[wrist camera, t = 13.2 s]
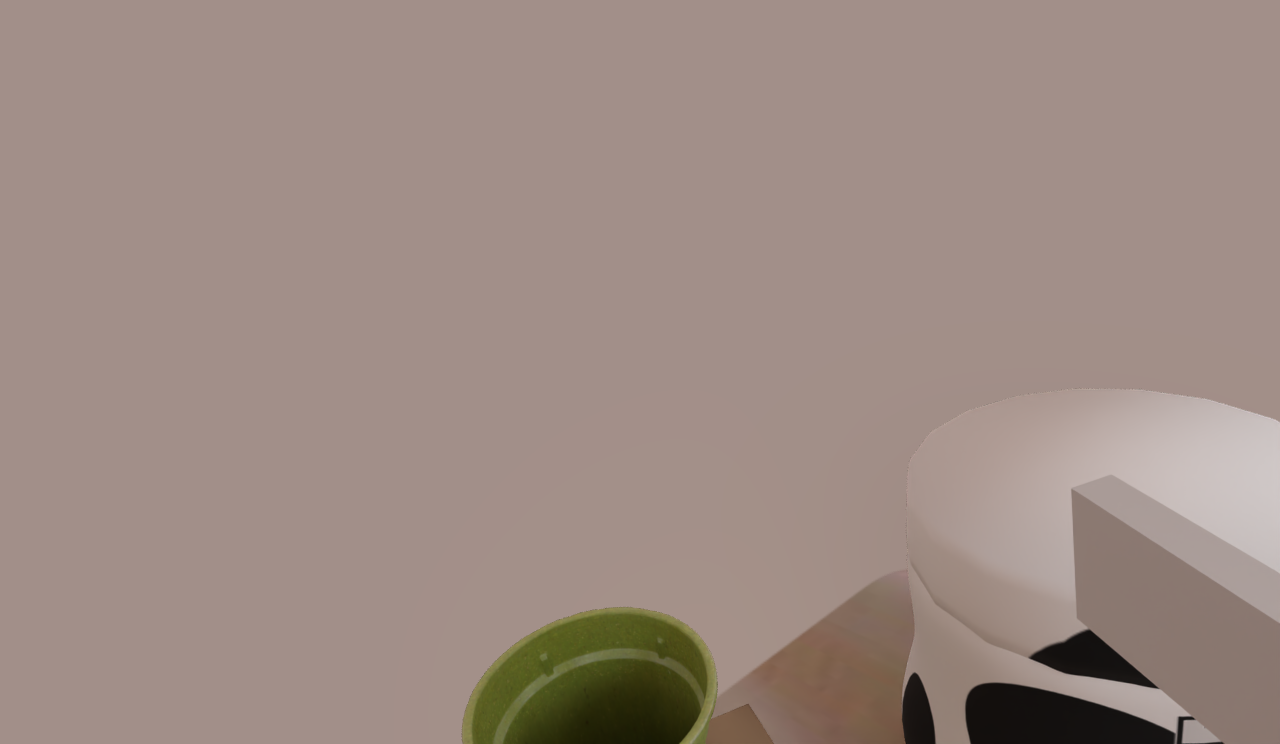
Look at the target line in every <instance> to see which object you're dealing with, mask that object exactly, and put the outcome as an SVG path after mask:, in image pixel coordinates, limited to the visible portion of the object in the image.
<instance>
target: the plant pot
mask: <svg viewBox="0 0 1280 744" xmlns="http://www.w3.org/2000/svg"><path fill="white" fill-rule="evenodd" d="M717 685H718V684H717V673H716V668H715V663H714V660H713V657H712V654H711V652H710V650H709V649H708V647H707V645H706V644H705V643H704V641H703V640H702V639H701V638H700V636H699V635H698V634H697V633H696V632H695V631H694V630H693V629H692V628H690V627H689V626H688V625H686V624H685V623H683V622H681V621H680V620H678V619H676V618H674V617H671V616H670V615H667V614H663V613H660V612H656V611H650V610H645V609H640V608H632V607H615V608H605V609H600V610H590V611H586V612H581V613H578V614H575V615H573V616H570V617H566V618H563V619H559V620H557V621H554V622H552V623H550V624H548V625H546V626H544V627H542V628H540V629H539V630H537V631H535V632H533V633H531V634H530V635H528V636H526V637H524V638H523V639H521V640H520V641H519V642H517V643H516V644H514V645H513V646H512V647H511V648H509V649H508V650H507V651H506V652H505V653H503V654H502V655H501V656H500V657H499V658H498V659H497V660H496V661H495V662H494V663H493V665H492V666H491V667H490V668H489V669H488V670H487V671H486V672H485V673H484V675H483V676H482V678H481V679H480V681H479V682H478V684H477V685H476V687H475V689H474V690H473V692H472V694H471V696H470V699H469V702H468V704H467V707H466V710H465V714H464V718H463V725H462V742H463V744H706V742H705V741H706V737H707V734H708V728H709V722H710V719H711V717H712V714H713V711H714V707H715V703H716V698H717Z"/></svg>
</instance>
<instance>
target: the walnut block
mask: <svg viewBox="0 0 1280 744" xmlns="http://www.w3.org/2000/svg"><path fill="white" fill-rule="evenodd" d="M705 742H706V744H774V743H773V742H772V740H771V738H770V737H769V735H768V734H767V732H766V731H765V729H764V728H763V726H762V724H761V723H760V721H759V720H758V718H757V717H756V715H755V714H754V712H753V710H752V709H751V707H750V706H749V704H746V705H744V706H742V707H739V708H737V709H735V710H732V711H730V712H727V713H725V714H723V715H720V716H718V717H715V718H713V719H711V720H710V722H709V728H708V734H707V737H706V741H705Z"/></svg>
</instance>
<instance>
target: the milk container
mask: <svg viewBox="0 0 1280 744" xmlns="http://www.w3.org/2000/svg"><path fill="white" fill-rule="evenodd" d="M1111 474H1112V475H1113V476H1115V477H1117V478H1119V479H1120V480H1122V481H1124V482H1125V483H1127V484H1129V485H1130V486H1132V487H1134V488H1136V489H1137V490H1139V491H1141V492H1142V493H1144V494H1146V495H1147V496H1149V497H1151V498H1153V499H1154V500H1156V501H1158V502H1159V503H1161V504H1163V505H1164V506H1166V507H1168V508H1170V509H1171V510H1173V511H1175V512H1176V513H1178V514H1180V515H1182V516H1183V517H1185V518H1187V519H1188V520H1190V521H1192V522H1193V523H1195V524H1197V525H1199V526H1200V527H1202V528H1204V529H1205V530H1207V531H1209V532H1210V533H1212V534H1214V535H1216V536H1217V537H1219V538H1221V539H1222V540H1224V541H1226V542H1227V543H1229V544H1231V545H1233V546H1234V547H1236V548H1238V549H1239V550H1241V551H1243V552H1244V553H1246V554H1248V555H1250V556H1251V557H1253V558H1255V559H1256V560H1258V561H1260V562H1262V563H1263V564H1265V565H1267V566H1268V567H1270V568H1272V569H1273V570H1275V571H1277V572H1279V573H1280V422H1278V421H1277V420H1275V419H1272V418H1269V417H1266V416H1262V415H1259V414H1256V413H1252V412H1249V411H1246V410H1242V409H1239V408H1236V407H1232V406H1229V405H1226V404H1223V403H1219V402H1216V401H1212V400H1209V399H1202V398H1196V397H1189V396H1182V395H1175V394H1169V393H1162V392H1154V391H1148V390H1141V389H1068V390H1059V391H1051V392H1044V393H1036V394H1027V395H1019V396H1014V397H1011V398H1008V399H1004V400H1001V401H998V402H994V403H991V404H988V405H984V406H981V407H977V408H974V409H971V410H967V411H965V412H964V413H962V414H960V415H959V416H957V417H955V418H954V419H952V420H950V421H948V422H947V423H945V424H943V425H942V426H940V427H938V428H936V429H935V430H933V431H932V432H930V433H929V434H928V436H927V437H926V439H925V440H924V441H923V443H922V444H921V445H920V447H919V448H918V449H917V451H916V452H915V453H914V455H913V456H912V457H911V459H910V461H909V467H908V474H907V506H906V507H907V509H906V516H907V517H906V538H907V549H908V553H907V569H908V578H909V587H910V593H911V600H912V607H913V615H914V624H915V634H914V639H913V643H912V647H911V651H910V654H909V658H908V661H907V666H906V671H905V676H904V682H903V690H902V722H903V730H904V736H905V742H906V744H1224V743H1223V742H1222V741H1220V740H1219V739H1218V738H1217V737H1216V736H1215V735H1213V734H1212V733H1211V732H1210V731H1209V730H1208V729H1206V728H1205V727H1204V726H1203V725H1202V724H1200V723H1199V722H1198V721H1197V720H1196V719H1195V718H1193V717H1192V716H1191V715H1190V714H1189V713H1188V712H1186V711H1185V710H1184V709H1183V708H1182V707H1181V706H1179V705H1178V704H1177V703H1176V702H1175V701H1173V700H1172V699H1171V698H1170V697H1169V696H1168V695H1166V694H1165V693H1164V692H1163V691H1162V690H1161V689H1159V688H1158V687H1157V686H1156V685H1155V684H1154V683H1152V682H1151V681H1150V680H1149V679H1148V678H1146V677H1145V676H1144V675H1143V674H1142V673H1141V672H1139V671H1138V670H1137V669H1136V668H1135V667H1134V666H1132V665H1131V664H1130V663H1129V662H1128V661H1127V660H1125V659H1124V658H1123V657H1122V656H1121V655H1119V654H1118V653H1117V652H1116V651H1115V650H1114V649H1112V648H1111V647H1110V646H1109V645H1108V644H1107V643H1105V642H1104V641H1103V640H1102V639H1101V638H1099V637H1098V636H1097V635H1096V634H1095V633H1094V632H1092V631H1091V630H1090V629H1089V628H1088V627H1087V626H1085V625H1084V624H1083V623H1082V622H1081V621H1080V620H1078V619H1077V613H1076V590H1075V567H1074V543H1073V520H1072V496H1071V488H1073V487H1076V486H1079V485H1082V484H1085V483H1087V482H1090V481H1093V480H1096V479H1099V478H1102V477H1105V476H1108V475H1111Z"/></svg>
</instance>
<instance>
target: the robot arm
mask: <svg viewBox="0 0 1280 744" xmlns="http://www.w3.org/2000/svg"><path fill="white" fill-rule="evenodd" d="M1071 496H1072V520H1073V543H1074V567H1075V590H1076V613H1077V619H1078V620H1080V621H1081V622H1082V623H1083V624H1084V625H1085V626H1087V627H1088V628H1089V629H1090V630H1091V631H1092V632H1094V633H1095V634H1096V635H1097V636H1098V637H1099V638H1101V639H1102V640H1103V641H1104V642H1105V643H1107V644H1108V645H1109V646H1110V647H1111V648H1112V649H1114V650H1115V651H1116V652H1117V653H1118V654H1119V655H1121V656H1122V657H1123V658H1124V659H1125V660H1127V661H1128V662H1129V663H1130V664H1131V665H1132V666H1134V667H1135V668H1136V669H1137V670H1138V671H1139V672H1141V673H1142V674H1143V675H1144V676H1145V677H1146V678H1148V679H1149V680H1150V681H1151V682H1152V683H1154V684H1155V685H1156V686H1157V687H1158V688H1159V689H1161V690H1162V691H1163V692H1164V693H1165V694H1166V695H1168V696H1169V697H1170V698H1171V699H1172V700H1173V701H1175V702H1176V703H1177V704H1178V705H1179V706H1181V707H1182V708H1183V709H1184V710H1185V711H1186V712H1188V713H1189V714H1190V715H1191V716H1192V717H1193V718H1195V719H1196V720H1197V721H1198V722H1199V723H1200V724H1202V725H1203V726H1204V727H1205V728H1206V729H1208V730H1209V731H1210V732H1211V733H1212V734H1213V735H1215V736H1216V737H1217V738H1218V739H1219V740H1220V741H1222V742H1223V743H1224V744H1280V573H1279V572H1277V571H1275V570H1273V569H1272V568H1270V567H1268V566H1267V565H1265V564H1263V563H1262V562H1260V561H1258V560H1256V559H1255V558H1253V557H1251V556H1250V555H1248V554H1246V553H1244V552H1243V551H1241V550H1239V549H1238V548H1236V547H1234V546H1233V545H1231V544H1229V543H1227V542H1226V541H1224V540H1222V539H1221V538H1219V537H1217V536H1216V535H1214V534H1212V533H1210V532H1209V531H1207V530H1205V529H1204V528H1202V527H1200V526H1199V525H1197V524H1195V523H1193V522H1192V521H1190V520H1188V519H1187V518H1185V517H1183V516H1182V515H1180V514H1178V513H1176V512H1175V511H1173V510H1171V509H1170V508H1168V507H1166V506H1164V505H1163V504H1161V503H1159V502H1158V501H1156V500H1154V499H1153V498H1151V497H1149V496H1147V495H1146V494H1144V493H1142V492H1141V491H1139V490H1137V489H1136V488H1134V487H1132V486H1130V485H1129V484H1127V483H1125V482H1124V481H1122V480H1120V479H1119V478H1117V477H1115V476H1113V475H1112V474H1111V475H1108V476H1105V477H1102V478H1099V479H1096V480H1093V481H1090V482H1087V483H1085V484H1082V485H1079V486H1076V487H1073V488H1071Z"/></svg>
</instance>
